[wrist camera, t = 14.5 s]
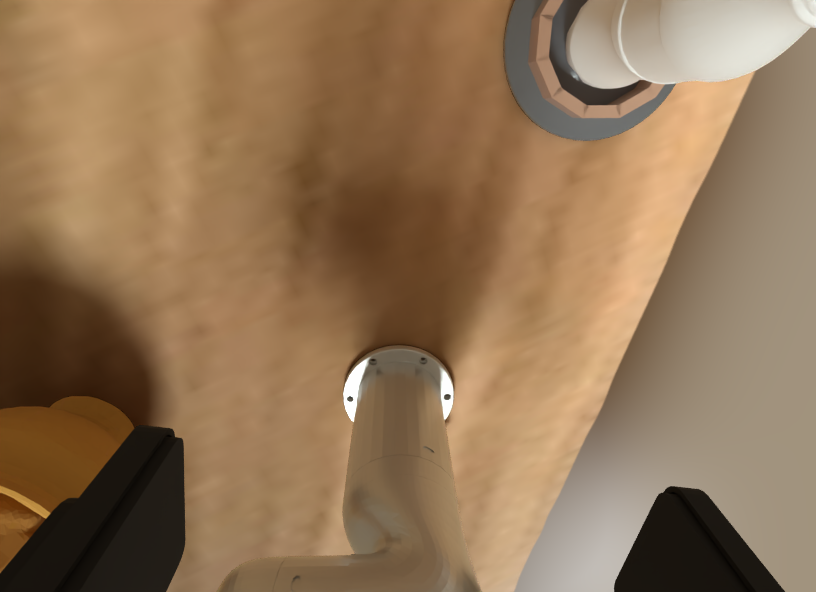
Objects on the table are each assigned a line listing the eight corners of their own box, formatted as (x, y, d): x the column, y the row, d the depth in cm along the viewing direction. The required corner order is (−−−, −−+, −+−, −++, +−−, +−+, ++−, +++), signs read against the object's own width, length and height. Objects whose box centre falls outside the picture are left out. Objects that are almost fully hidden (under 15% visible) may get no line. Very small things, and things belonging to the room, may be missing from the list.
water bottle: (573, 105, 41) (803, 109, 18) (544, 22, 39) (768, -95, 15) (651, 63, 40) (1003, 10, 17) (627, -25, 37) (1001, -228, 14)
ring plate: (710, 79, 41) (737, 77, 38) (547, 172, 44) (559, 177, 41) (653, -116, 36) (678, -138, 33) (471, 3, 39) (478, -6, 35)
